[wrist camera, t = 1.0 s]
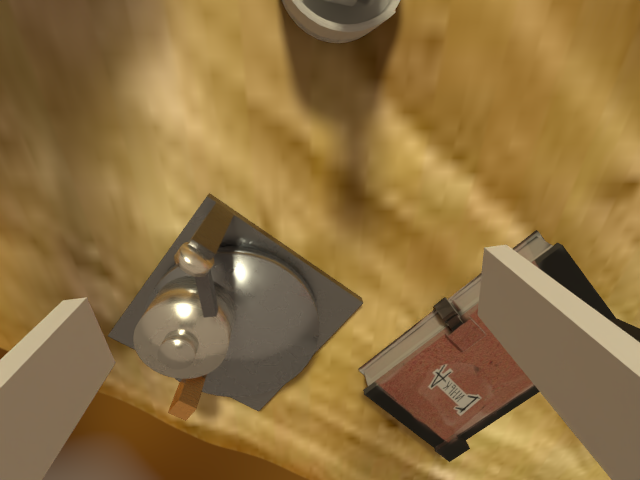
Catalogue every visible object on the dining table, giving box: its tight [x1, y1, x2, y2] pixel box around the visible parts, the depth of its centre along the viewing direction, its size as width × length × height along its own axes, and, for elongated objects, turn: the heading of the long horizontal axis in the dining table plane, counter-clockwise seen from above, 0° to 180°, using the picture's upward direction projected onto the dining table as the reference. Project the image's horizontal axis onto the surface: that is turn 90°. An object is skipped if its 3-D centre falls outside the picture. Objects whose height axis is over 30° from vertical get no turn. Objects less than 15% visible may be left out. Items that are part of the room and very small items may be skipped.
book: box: [359, 230, 616, 462], centre depth 42 cm, size 26×18×5 cm
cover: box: [133, 276, 236, 379], centre depth 33 cm, size 8×8×6 cm
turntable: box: [144, 246, 319, 421], centre depth 36 cm, size 18×18×6 cm
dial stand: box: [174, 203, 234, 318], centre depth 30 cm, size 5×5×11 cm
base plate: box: [108, 193, 363, 411], centre depth 39 cm, size 20×20×1 cm
